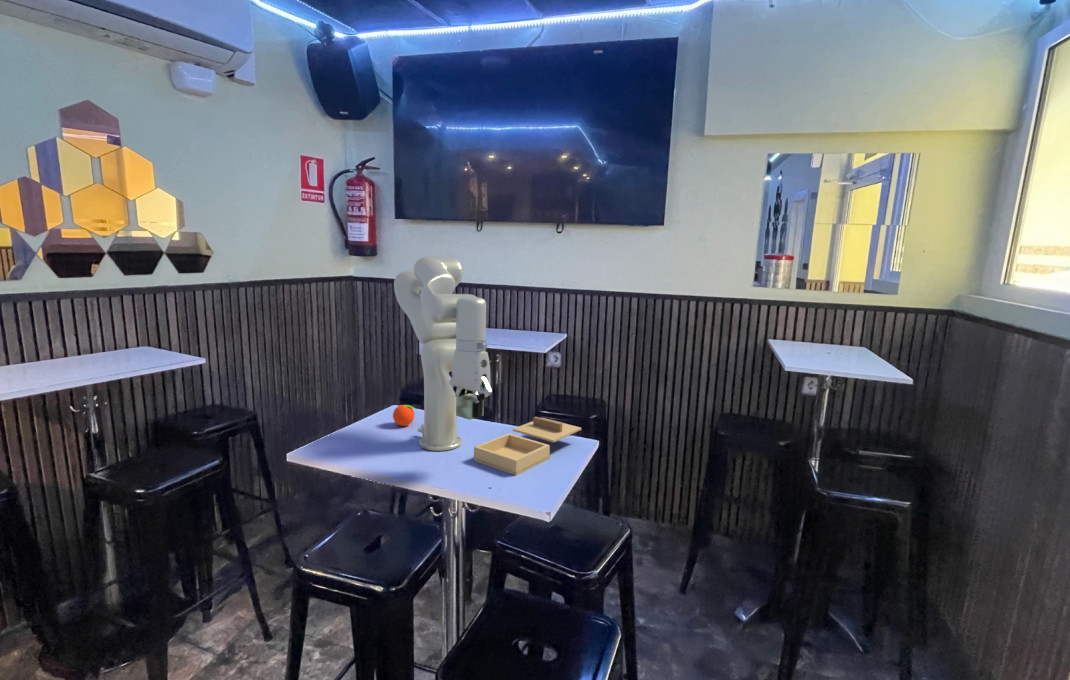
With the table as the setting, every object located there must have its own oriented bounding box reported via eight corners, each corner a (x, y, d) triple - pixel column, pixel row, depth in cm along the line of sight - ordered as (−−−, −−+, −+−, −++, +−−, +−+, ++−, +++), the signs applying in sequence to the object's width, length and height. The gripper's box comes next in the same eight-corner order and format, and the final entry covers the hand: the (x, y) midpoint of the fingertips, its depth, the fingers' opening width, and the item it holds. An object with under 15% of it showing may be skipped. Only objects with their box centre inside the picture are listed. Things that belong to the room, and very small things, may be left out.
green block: (456, 415, 136) (456, 397, 135) (469, 411, 140) (470, 393, 139) (469, 419, 133) (469, 400, 132) (483, 415, 136) (483, 397, 136)
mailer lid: (512, 430, 157) (512, 420, 156) (541, 419, 169) (542, 410, 168) (553, 442, 148) (554, 432, 148) (581, 429, 160) (581, 419, 160)
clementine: (419, 422, 175) (419, 402, 174) (415, 429, 168) (415, 408, 167) (396, 421, 175) (395, 401, 174) (390, 428, 168) (390, 407, 167)
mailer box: (473, 460, 144) (474, 446, 144) (508, 446, 156) (508, 433, 156) (516, 475, 135) (516, 460, 135) (549, 458, 147) (549, 445, 147)
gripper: (505, 348, 131) (503, 418, 134) (458, 340, 141) (457, 404, 144) (484, 352, 125) (483, 425, 128) (437, 343, 135) (437, 410, 138)
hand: (469, 413), depth 136 cm, fingers closed on green block, 4 cm apart
